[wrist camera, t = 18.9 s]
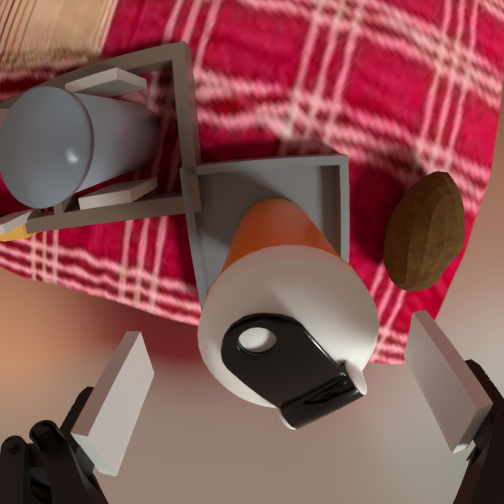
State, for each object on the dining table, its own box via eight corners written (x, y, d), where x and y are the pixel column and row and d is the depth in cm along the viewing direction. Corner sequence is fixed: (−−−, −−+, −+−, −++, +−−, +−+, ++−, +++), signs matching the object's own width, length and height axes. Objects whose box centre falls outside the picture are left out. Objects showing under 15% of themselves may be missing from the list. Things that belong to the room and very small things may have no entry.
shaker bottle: (274, 167, 29) (303, 234, 10) (339, 232, 31) (430, 368, 12) (209, 234, 31) (145, 378, 13) (275, 291, 33) (287, 460, 15)
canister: (93, 109, 28) (-7, 108, 14) (159, 93, 27) (80, 70, 13) (101, 178, 30) (8, 216, 16) (167, 167, 30) (94, 199, 16)
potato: (363, 272, 33) (387, 308, 26) (386, 157, 29) (422, 165, 22) (424, 278, 33) (456, 312, 26) (450, 173, 29) (493, 187, 22)
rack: (-23, 122, 27) (-60, 127, 21) (191, 48, 25) (172, 27, 19) (-5, 237, 33) (-38, 256, 26) (207, 209, 31) (193, 230, 25)
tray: (186, 164, 30) (179, 168, 27) (339, 153, 29) (348, 155, 26) (206, 300, 35) (202, 315, 32) (340, 291, 34) (346, 305, 31)
